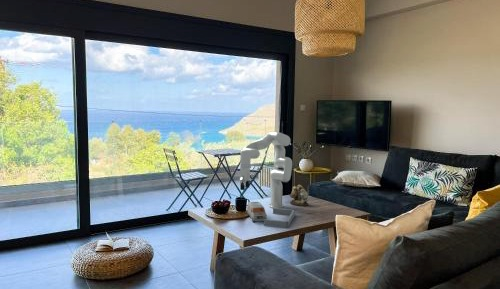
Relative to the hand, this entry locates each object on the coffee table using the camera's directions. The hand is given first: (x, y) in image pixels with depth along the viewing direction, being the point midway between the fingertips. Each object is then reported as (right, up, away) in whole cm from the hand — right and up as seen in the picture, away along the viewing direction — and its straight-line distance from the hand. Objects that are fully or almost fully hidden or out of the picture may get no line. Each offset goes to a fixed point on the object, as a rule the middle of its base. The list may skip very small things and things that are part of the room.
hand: (244, 188), depth 277 cm
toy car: (+9, -23, +2) cm, 24 cm away
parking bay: (+26, -23, -3) cm, 35 cm away
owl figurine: (+46, -19, +42) cm, 65 cm away
